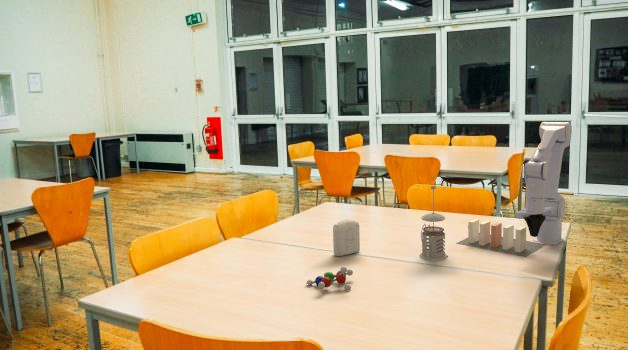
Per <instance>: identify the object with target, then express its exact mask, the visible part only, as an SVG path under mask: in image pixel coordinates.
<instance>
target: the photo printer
mask: <svg viewBox="0 0 628 350" xmlns="http://www.w3.org/2000/svg"><path fill="white" fill-rule="evenodd" d="M360 238H361V237H360V223H359V221H358V220H356V219H344V220H340V221H338V222H336V223H335V224H333V226H332V242H333V243H332V245H333V255H334V256H335V257H341V256H347V255H351V254H355V253H359V252H360V248H361V246H360V243H361V242H360Z"/></svg>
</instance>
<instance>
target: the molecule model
mask: <svg viewBox="0 0 628 350" xmlns="http://www.w3.org/2000/svg"><path fill="white" fill-rule="evenodd" d="M353 271H354V270H352V269H351V268H347V267H346V266H345V265H343V266H341V267H340V270H338V271H337V272H336V274H335V273H333V272H331V271H326V272H324V273H323V276H322V275H317V276H316V278H315V280H314V281H313V280H312V279H308V280H306V285H307V284H308V285H312V284H315V285H316V286H318V288H319V289H321V290H323V289H325V288H329V287H330V286H331V285H332V283H334V282H337V283H338V284H339V285H341V284H342V285H343V286H344V290H345V291H347V290H349V291H350V290H351V289H352V286H351V284H349V283H346V280H347V276H349V277H350V276H352V275H354V274H353V273H354V272H353ZM308 285H307V286H308ZM312 286H313V285H312Z"/></svg>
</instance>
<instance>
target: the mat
mask: <svg viewBox="0 0 628 350" xmlns="http://www.w3.org/2000/svg"><path fill="white" fill-rule="evenodd" d="M479 240H480V232H479ZM479 240H478V241H476V242H474V243H468V237H466V238H464V239H462V240H460V241H458V242H456V245H462V246H466V247H472V248H477V249H482V250H487V251H491V252H497V253H502V254H506V255H507V254H508V255H513V256H518V257H523V258H527V257H529V256H531V255H532V254H534V253H535V252H537V251H538V250H540V249H542V248H544V247H545V246H547V245H548V244H546V243H540V242H534V241H529V240H526V249H525V250H523V251H522V252H515V238H514V241H513V247H512V248H510V249H508V250H504V249H503V236H501V245H499V246H498V247H496V248H494V247H491V234H490V243H488V244H486V245H484V246H483V245H479Z"/></svg>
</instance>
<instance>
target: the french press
mask: <svg viewBox="0 0 628 350" xmlns="http://www.w3.org/2000/svg"><path fill="white" fill-rule="evenodd" d="M430 190H432V212H429V213H425V214H424V215H422V216H421V220H422V221H424V222H429V223H432V224H433V225H432V226H431V224H428V225H426V223H424V224H423V225H422V227H421V231H420V239H421V253H420V254H419V258H421V259H422V260H425V261H432V262H437V261H438V262H439V261H444V260H447V259H448V258H449V256H448V255H447V253H446V252H445V251H446V248H445V247H446V233H445V232H444V231H445V229H444V227H441V226H435V223H437V222H442V221H444V220H445V219H446V217H445V216H444V215H443V214H441V213H437V212H435V211H434V210H435V208H434V207H435V205H434V203H435V201H434V200H435V199H434V198H435V197H434V196H435V194H434V191H435V190H437V186H435V185H431V186H430Z"/></svg>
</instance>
